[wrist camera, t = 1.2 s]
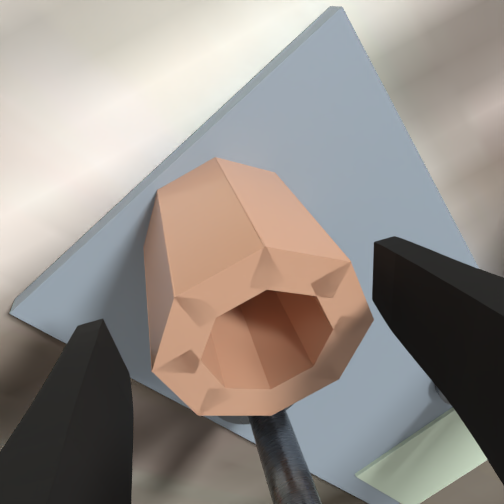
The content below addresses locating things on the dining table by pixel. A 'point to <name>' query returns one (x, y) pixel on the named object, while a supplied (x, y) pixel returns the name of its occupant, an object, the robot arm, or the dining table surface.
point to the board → (325, 213)
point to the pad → (425, 461)
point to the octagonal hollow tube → (246, 293)
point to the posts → (284, 457)
